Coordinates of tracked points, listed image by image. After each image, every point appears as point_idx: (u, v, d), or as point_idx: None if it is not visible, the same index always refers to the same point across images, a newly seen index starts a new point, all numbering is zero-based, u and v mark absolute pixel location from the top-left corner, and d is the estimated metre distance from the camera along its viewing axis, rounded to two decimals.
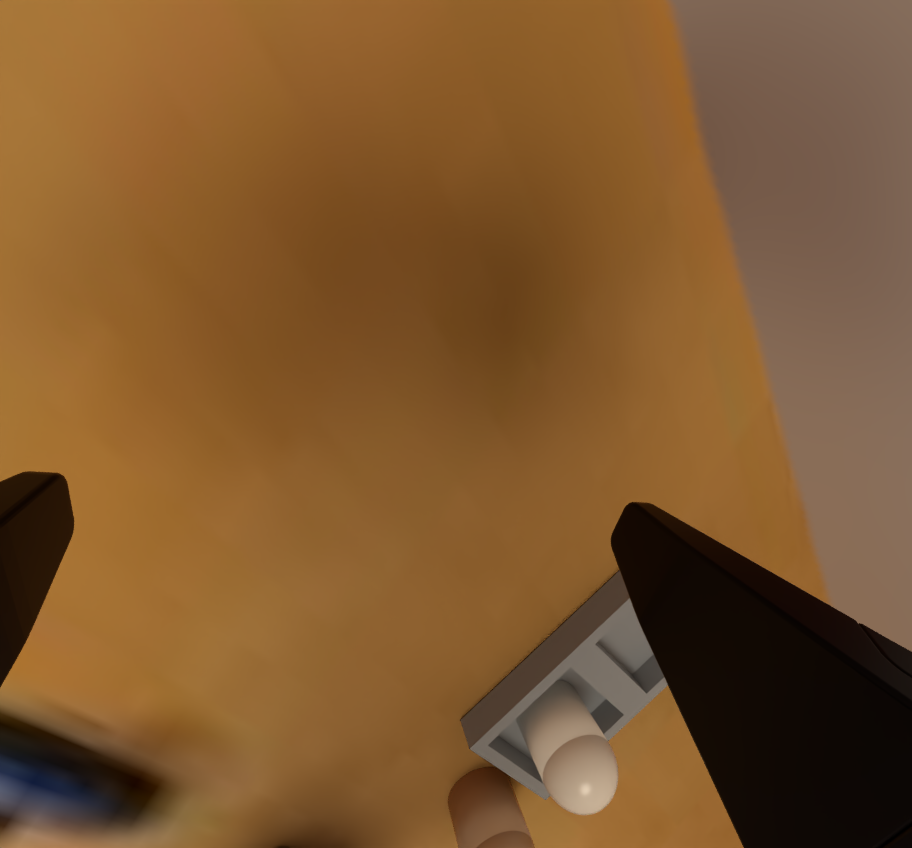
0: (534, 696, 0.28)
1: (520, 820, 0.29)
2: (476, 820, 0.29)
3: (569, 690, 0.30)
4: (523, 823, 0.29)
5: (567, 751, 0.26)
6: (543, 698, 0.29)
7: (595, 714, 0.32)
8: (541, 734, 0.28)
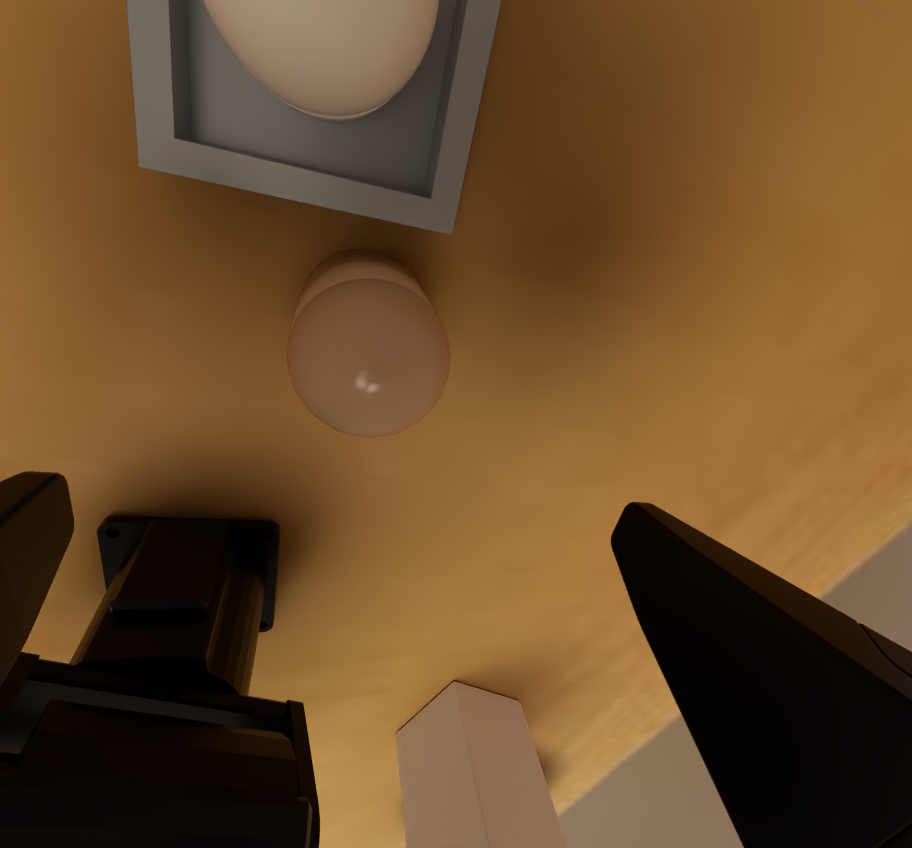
0: None
1: (374, 272, 0.13)
2: None
3: None
4: (385, 275, 0.13)
5: None
6: None
7: None
8: None
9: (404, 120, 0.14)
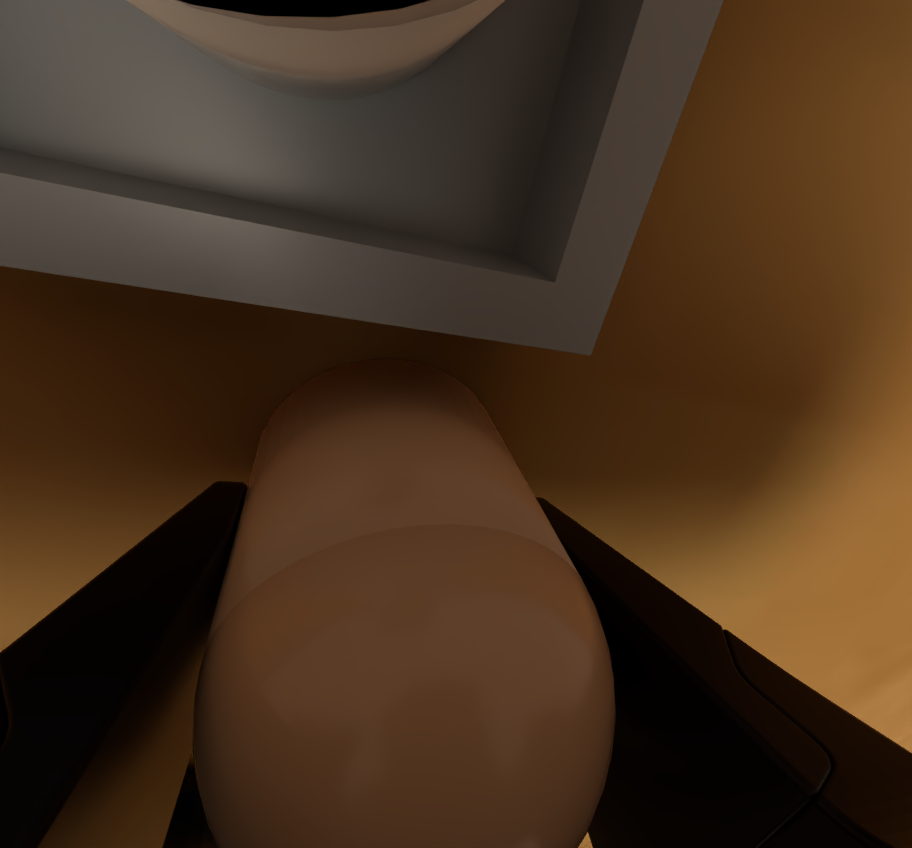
0: None
1: (424, 479, 0.05)
2: None
3: None
4: (454, 484, 0.05)
5: None
6: None
7: None
8: None
9: (486, 96, 0.06)
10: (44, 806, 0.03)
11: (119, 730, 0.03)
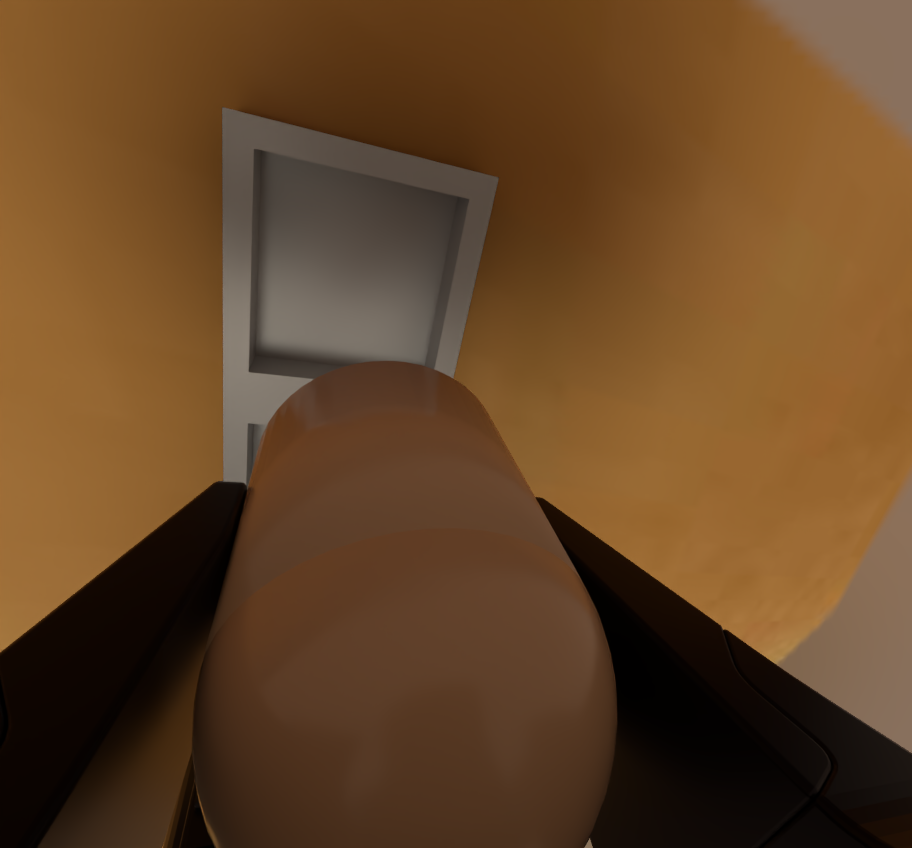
0: None
1: (425, 482, 0.05)
2: (226, 570, 0.06)
3: None
4: (455, 487, 0.05)
5: None
6: None
7: None
8: None
9: None
10: (43, 806, 0.03)
11: (118, 730, 0.03)
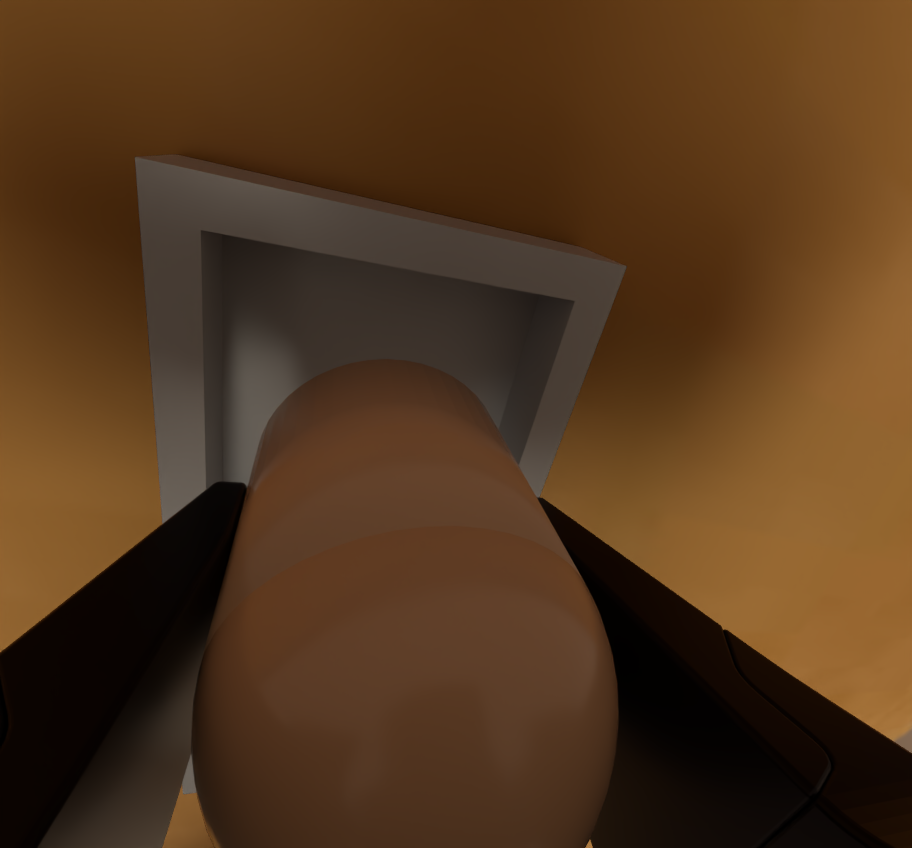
0: None
1: (425, 480, 0.05)
2: None
3: None
4: (455, 485, 0.05)
5: None
6: None
7: None
8: None
9: None
10: (43, 806, 0.03)
11: (119, 730, 0.03)
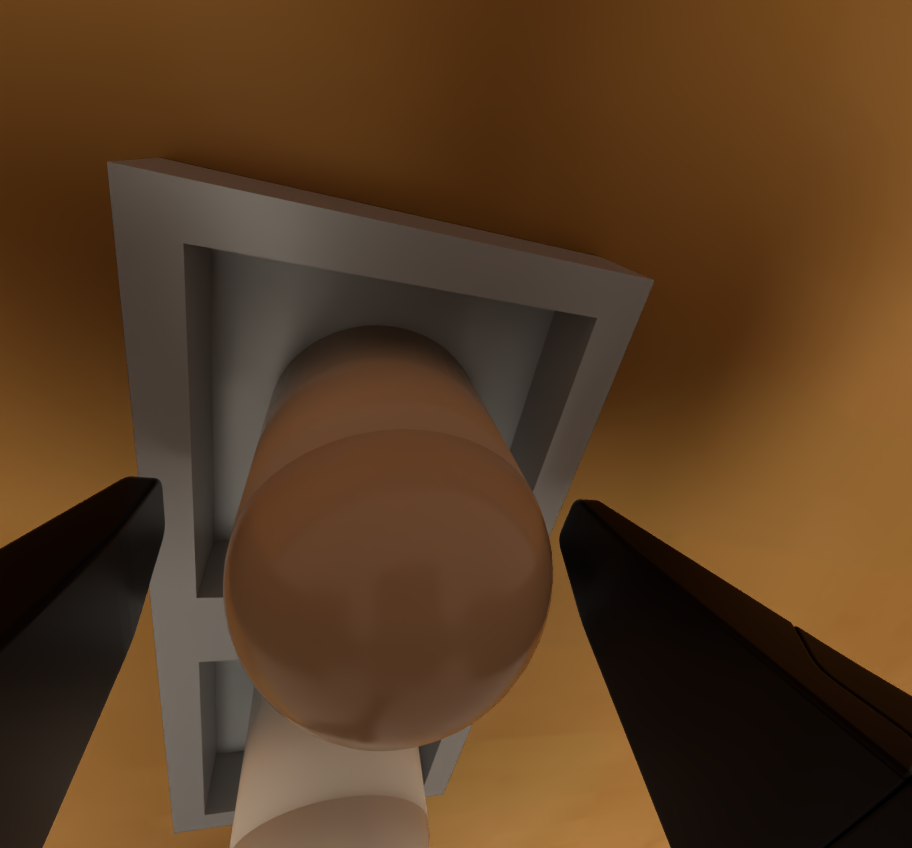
0: (188, 735, 0.11)
1: (404, 403, 0.06)
2: None
3: None
4: (427, 407, 0.06)
5: None
6: (253, 705, 0.12)
7: None
8: None
9: None
10: None
11: None
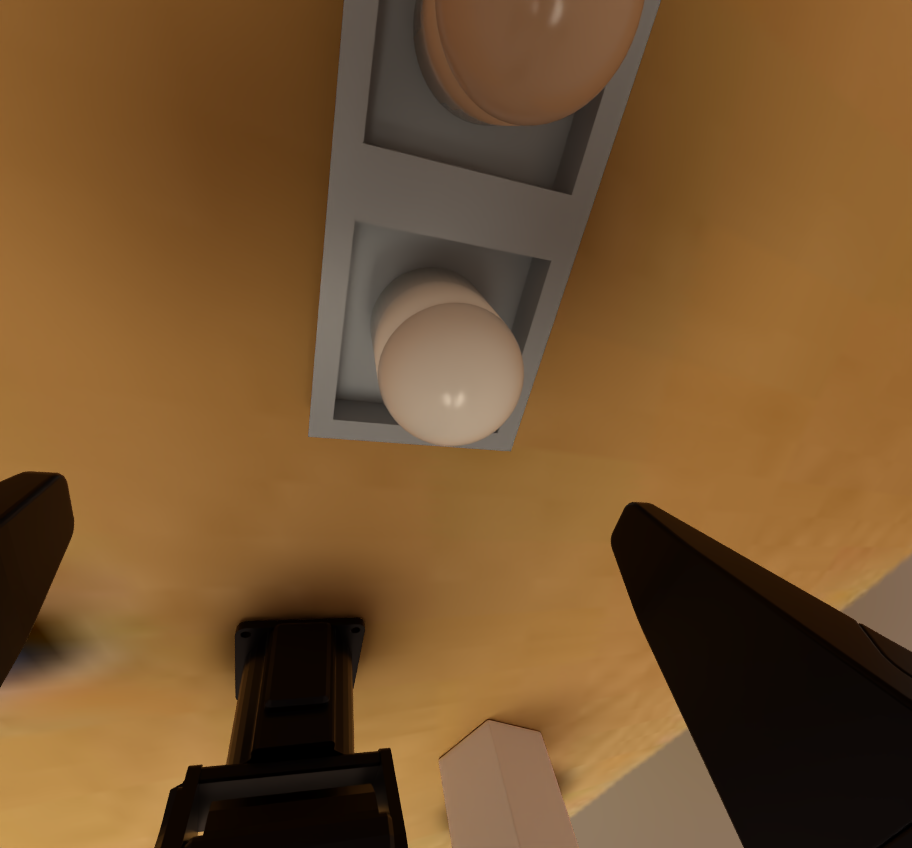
0: (335, 310, 0.15)
1: None
2: None
3: (421, 274, 0.16)
4: None
5: (385, 356, 0.13)
6: (378, 310, 0.16)
7: (524, 295, 0.18)
8: None
9: None
10: None
11: None
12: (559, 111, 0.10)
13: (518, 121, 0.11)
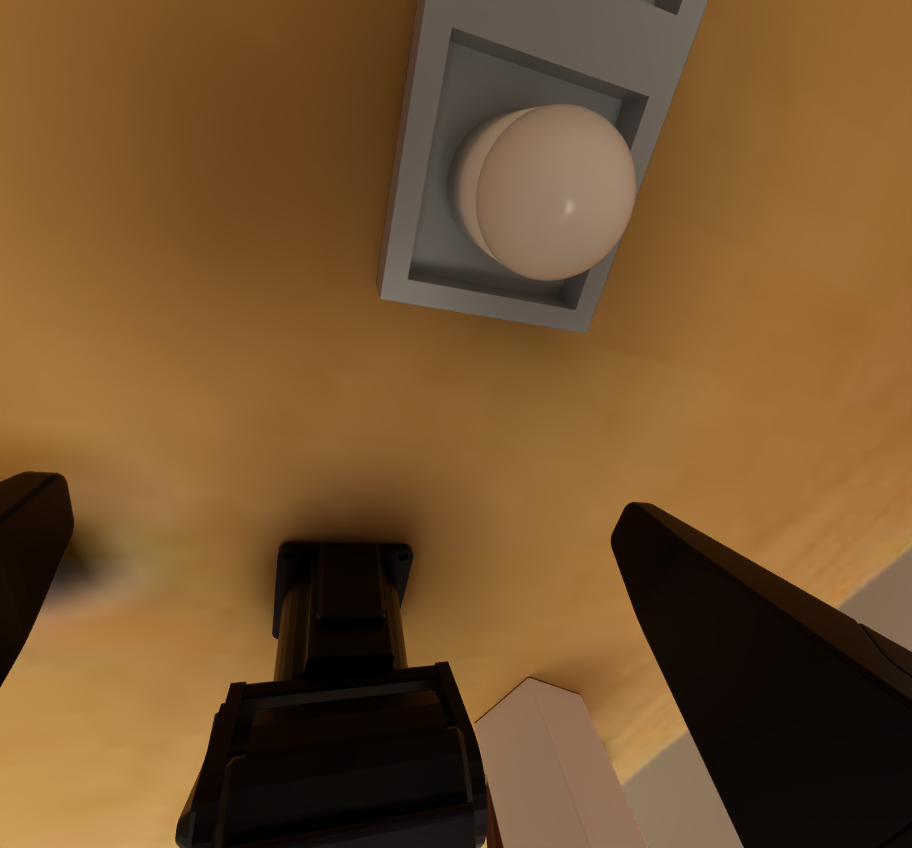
0: (422, 139, 0.14)
1: None
2: None
3: (509, 112, 0.15)
4: None
5: (491, 160, 0.12)
6: (462, 151, 0.15)
7: None
8: (465, 193, 0.14)
9: None
10: None
11: None
12: None
13: None
